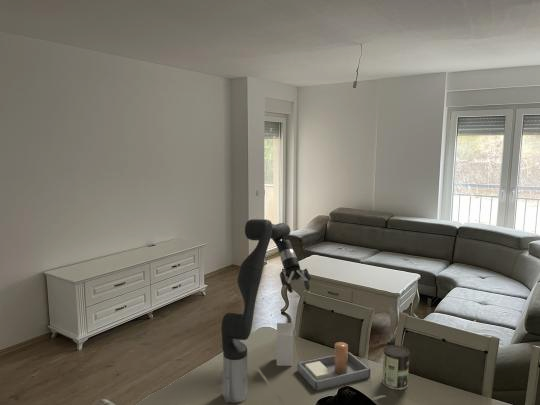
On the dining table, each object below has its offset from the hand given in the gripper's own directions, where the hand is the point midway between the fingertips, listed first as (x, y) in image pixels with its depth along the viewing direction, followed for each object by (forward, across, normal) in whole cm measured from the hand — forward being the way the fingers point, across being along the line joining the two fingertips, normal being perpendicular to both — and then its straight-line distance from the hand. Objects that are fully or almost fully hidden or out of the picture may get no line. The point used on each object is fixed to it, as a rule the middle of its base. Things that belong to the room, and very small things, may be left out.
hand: (299, 290), depth 190 cm
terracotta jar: (+37, +9, +5) cm, 38 cm away
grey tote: (+38, +5, +6) cm, 38 cm away
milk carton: (+26, -10, +18) cm, 33 cm away
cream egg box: (+37, -2, +5) cm, 37 cm away
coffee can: (+48, +26, -4) cm, 55 cm away
